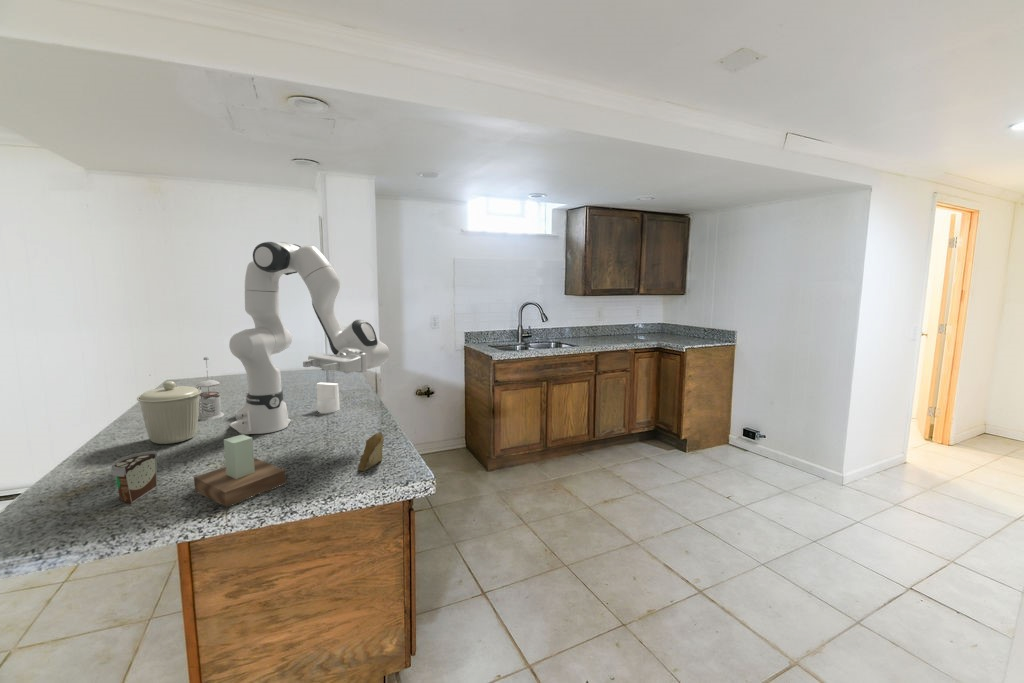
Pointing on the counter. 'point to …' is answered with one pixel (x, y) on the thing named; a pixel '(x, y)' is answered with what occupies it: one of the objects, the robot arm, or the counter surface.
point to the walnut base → (239, 483)
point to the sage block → (239, 456)
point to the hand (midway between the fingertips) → (313, 366)
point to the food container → (135, 475)
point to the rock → (372, 452)
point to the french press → (209, 400)
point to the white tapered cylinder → (327, 397)
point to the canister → (170, 412)
